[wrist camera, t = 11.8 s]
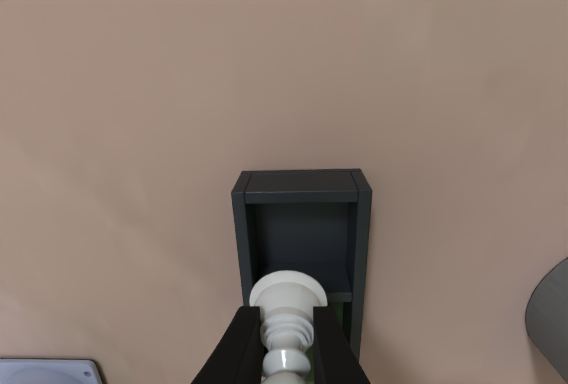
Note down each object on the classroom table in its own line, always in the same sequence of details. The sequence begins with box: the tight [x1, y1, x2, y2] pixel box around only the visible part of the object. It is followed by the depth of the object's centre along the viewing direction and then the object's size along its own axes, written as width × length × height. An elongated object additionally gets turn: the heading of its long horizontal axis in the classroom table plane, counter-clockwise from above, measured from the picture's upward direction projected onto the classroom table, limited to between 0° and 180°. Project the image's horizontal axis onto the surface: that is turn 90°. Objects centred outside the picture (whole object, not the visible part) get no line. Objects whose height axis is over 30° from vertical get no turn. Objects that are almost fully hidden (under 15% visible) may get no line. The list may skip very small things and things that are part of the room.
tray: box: [231, 169, 372, 377], centre depth 17 cm, size 6×12×3 cm, turn 2°
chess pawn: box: [249, 270, 327, 384], centre depth 9 cm, size 3×3×5 cm
